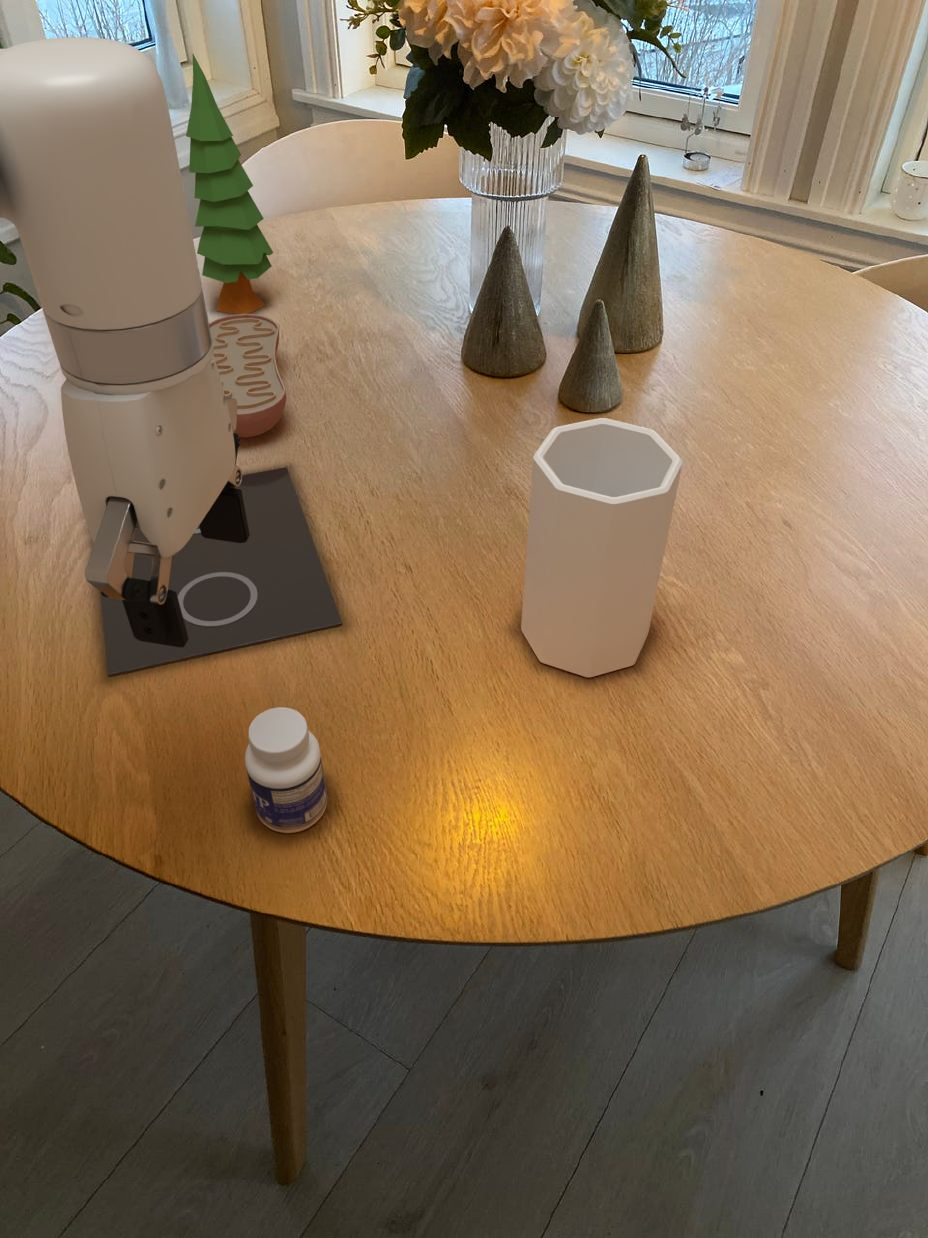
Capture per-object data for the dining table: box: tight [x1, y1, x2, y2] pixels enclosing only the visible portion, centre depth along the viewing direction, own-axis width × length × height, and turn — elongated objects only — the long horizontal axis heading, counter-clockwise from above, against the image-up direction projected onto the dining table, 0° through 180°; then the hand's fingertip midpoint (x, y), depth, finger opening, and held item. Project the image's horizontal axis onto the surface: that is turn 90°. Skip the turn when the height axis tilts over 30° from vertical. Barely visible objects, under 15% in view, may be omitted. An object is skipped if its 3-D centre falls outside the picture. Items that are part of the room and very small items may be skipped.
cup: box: [520, 417, 683, 678], centre depth 78 cm, size 11×11×18 cm
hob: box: [99, 466, 343, 677], centre depth 91 cm, size 20×25×1 cm
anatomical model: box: [209, 313, 287, 438], centre depth 110 cm, size 23×10×5 cm, turn 11°
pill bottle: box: [244, 706, 328, 834], centre depth 68 cm, size 5×5×9 cm
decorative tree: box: [185, 52, 274, 315], centre depth 119 cm, size 10×9×30 cm
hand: (196, 586), depth 59 cm, fingers open, 9 cm apart
